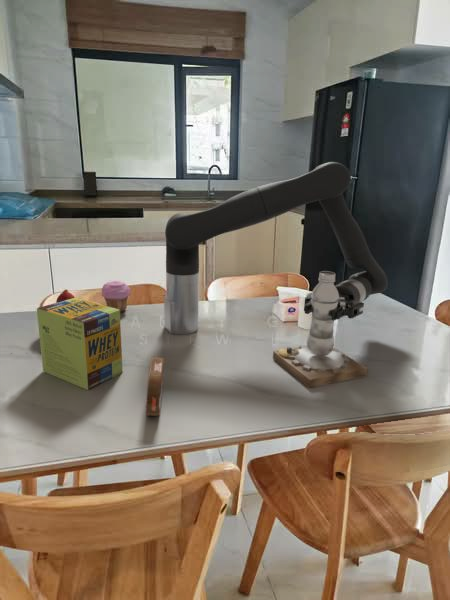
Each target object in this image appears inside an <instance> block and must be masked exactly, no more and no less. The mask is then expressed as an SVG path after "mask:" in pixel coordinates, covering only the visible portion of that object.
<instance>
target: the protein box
mask: <svg viewBox="0 0 450 600" xmlns="http://www.w3.org/2000/svg"><path fill="white" fill-rule="evenodd" d="M93 302H94V301H89V300H85V299H81V298H78V297H75V298H72V299H69V300H65V301H61V302H58V303H56V302H55V303H52V304H47V305H43V306H40V307H37V308H36V315H37V324H38V334H39V345H40V352H41V353H40V354H41V365H42V371H43V372H44V373H47V374H49V375H51V376H54V377H56V378H58V379H61V380H63V381H65V382H68V383H70V384H72V385H75V386H77V387H80V388H81V389H84V390H87V391H89V390H91V389H93V388H95V387H96V386H99V385H101V384H102V383H105V382H106V381H108V380H111V379H112V378H114V377H116V376H119V375H120V374H122V373H123V372H124V371H123V354H122V351H123V350H122V331H121V329H122V327H121V312H120V310H119V309H116V308H112V307H108V306H107V305H104V304H102V305H101V303H99V304H97V303H98V302H95V303H93Z"/></svg>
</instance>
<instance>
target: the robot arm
mask: <svg viewBox="0 0 450 600" xmlns="http://www.w3.org/2000/svg"><path fill="white" fill-rule="evenodd" d="M350 183H351V172H350V170H349V169H348V168H347V166H345V165H344V164H343V163H340V162H336V161H329V162H325V163H322V164H320V165H318V166H316V167H315V168H314V169H313V170H311V171H309V172H307V173H304V174H302V175H299V176H297V177H294V178H290V179H286V180H281V181H275V182H270V183H267V184H263V185H260V186H257V187H253V188H251V189H247V190H245V191H243V192H240V193H238V194H236V195H233V196H232V197H230V198H228V199H226V200H225V201H223V202H221V203H219V204H218V205H216V206H213V207H211V208H208V209H205V210H201V211H198V212H195V213H187V212H178V213H175V214H173V215H172V216H171V217H169V219H168V221H167V222H166V226H165V231H164V232H165V234H164V235H165V251H166V253H165V271H166V272H165V281H166V282H165V283H166V284H165V285H166V286H165V289H166V291H165V292H166V293H165V295H164V297H163V299H164V304H163V307H164V312H163V313H164V319H163V320H164V328H165V329H166V331H167V332H168V333H169V334H172V335H173V334H178V335H187V334H193V333H196V332H197V331H198V330H199V301H200V300H199V299H200V298H199V297H200V295H199V293H200V291H199V289H200V288H199V285H200V283H199V282H200V244H202V243H205V242H207V241H208V240H210V239H212V238H216V237H218V236H220V235H224V234H227V233H230V232H231V233H232V232H235V231H238V230H241V229H245V228H248V227H252V226H254V225H258V224H261V223H263V222H267V221H269V220H271V219H273V218H277V217H279V216H281V215H283V214H286V213H288V212H290V211H292V210H294V209H297V208H299V207H301V206H304V205H307V204H311V203H315V202H317V201H318V202H319V204H320V205H321V208H322V209H323V212H324V213H325V215H326V217H327V218H328V221H329V224H330V225H331V228H332V229H333V233H334V235H335V237H336V239H337V242H338V245H339V247H340V250H341V252H342V255H343V258H344V260H345V262H346V265H347V266H348V267H349V268H353V269H355V268H359V269H363V270H365V271H360V272H356V273H354V274H352V275H350V276H349V277H348V279H347V280H344V281H342V282H339V283H337V284H336V285H335V287H336V288H337V290H338V292H339V301H338V305H337V308H336V309H335V310H334V311H333V312H332V318H331V320H334V322H335V321H336V320H340V319H341V318H345V317H346V316H347V319H354V318H356V317H358V316H360V315H362V314H363V313H364V307H365V303H364V302H365V300H367V299H368V298H369V297H370V296H371V295H375V294H376V295H377V294H381V293H383V292H385V291H386V290H387V288H388V285H389V281H388V277H387V274H385V271H384V269H382V267H381V266H380V265H379V264H378V262H377V261H376V260H375V257H373V255H372V254H371V251H370V248H369V246H368V243H367V240H366V238H365V236H364V234H363V231H362V230H361V228H360V225H359V224H358V223H357V221H356V219H355V218H354V217H353V214H352V213H351V212H350V209H349V208H348V205H347V203H346V200H345V195H344V192H346V190H347V189H348V188H349V185H350ZM311 294H312V292H310V293H309V294H307V295H306V296H305V297H304V306H303V311H304V314H306V315H309V314H312V301H311V299H312V298H311Z"/></svg>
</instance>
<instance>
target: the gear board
mask: <svg viewBox="0 0 450 600" xmlns="http://www.w3.org/2000/svg"><path fill="white" fill-rule="evenodd" d="M272 352H273V353H272V354H273V355H272V359H273V360H274V361H275V362H277V364H279V365H280V366H281V367H283V368H284V369H285V370H286V371H287V372H289V373H290V374H291V375H292V376H294V377H295V378H296V379H298V380H299V381H300V382H301V383H303V384H304V386H306V387H307V388H308V389H311V388H315V387H321V386H326V385H330V384H334V383H339V382H345V381H348V380H349V381H350V380H353V379H358V378H363V377H367V373H368V368H367V367H365V366H364V365H362V364H360V363H359V362H357V360H355V359H353V358H351V357H350V356H349V355H347V354H345V353H344V352H343V351H340V350H338V349H336V348H335V347H333V351H332V352H331V353H330V354H329V355H325V356H319V355H315V354H312V353H311V352H310V351H309V350H308V348H307V345H300V346H298V347H291V346H290V347H289V346H288V347H282V348H280V349H279V350H273V351H272Z"/></svg>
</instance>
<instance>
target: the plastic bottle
mask: <svg viewBox="0 0 450 600" xmlns="http://www.w3.org/2000/svg"><path fill="white" fill-rule="evenodd" d="M335 282H336V273H335V272H333V271H330V270H329V271H328V270H323V271H319V275H318V283H317V284H316V285H315V286H314V288H313V289H312V292H311V293H312V294H311V298H312V299H311V301H312V312H311V321H310V322H311V323H310V327H309V333H308V335H307V340H306V346H307V348H308V350H309V351H310V352H311V353H312V354H315V355H319V356H325V355H329V354H330V353H331V352H332V351H333V348H335V336H334V326H335V325H334V324H335V321H334V320H331V318H332V312H333V311H334V310H335V309H336V308H337V305H338V301H339V292H338V290H337V288H336V287H335V286H336V285H335Z"/></svg>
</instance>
